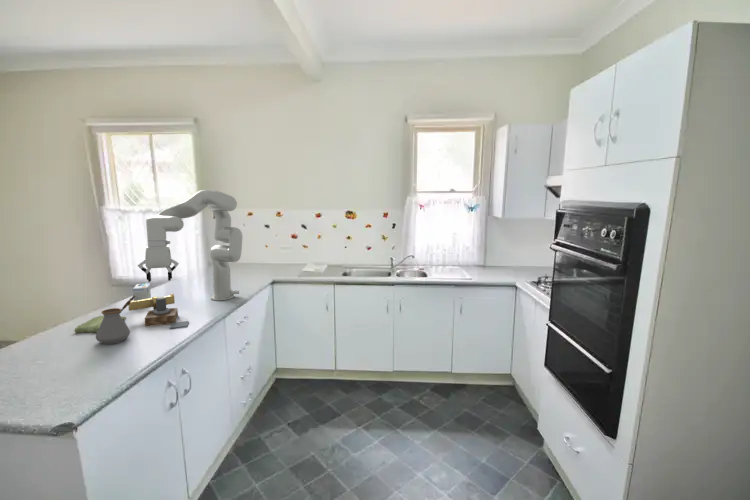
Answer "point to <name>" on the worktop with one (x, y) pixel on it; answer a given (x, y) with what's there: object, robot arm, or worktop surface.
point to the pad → (179, 324)
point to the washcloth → (91, 325)
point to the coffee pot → (113, 326)
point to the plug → (161, 306)
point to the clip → (149, 303)
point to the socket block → (161, 317)
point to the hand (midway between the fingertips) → (159, 280)
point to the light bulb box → (142, 291)
